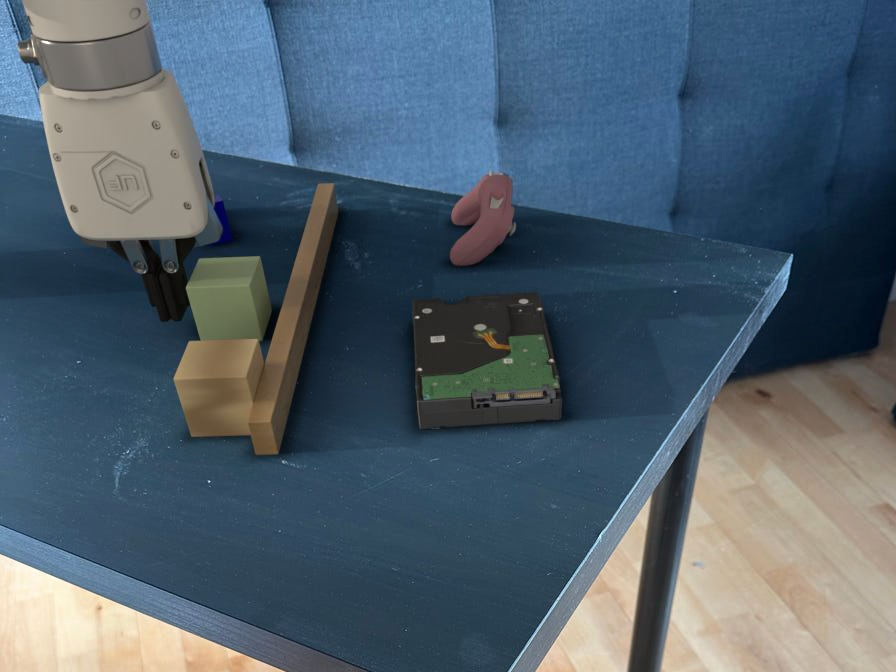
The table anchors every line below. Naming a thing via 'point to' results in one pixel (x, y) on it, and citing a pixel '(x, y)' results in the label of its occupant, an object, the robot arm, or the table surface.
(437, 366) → the disk drive
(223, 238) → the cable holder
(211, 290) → the sage block
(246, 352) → the maple block
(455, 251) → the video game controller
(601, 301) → the table surface
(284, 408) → the rail
